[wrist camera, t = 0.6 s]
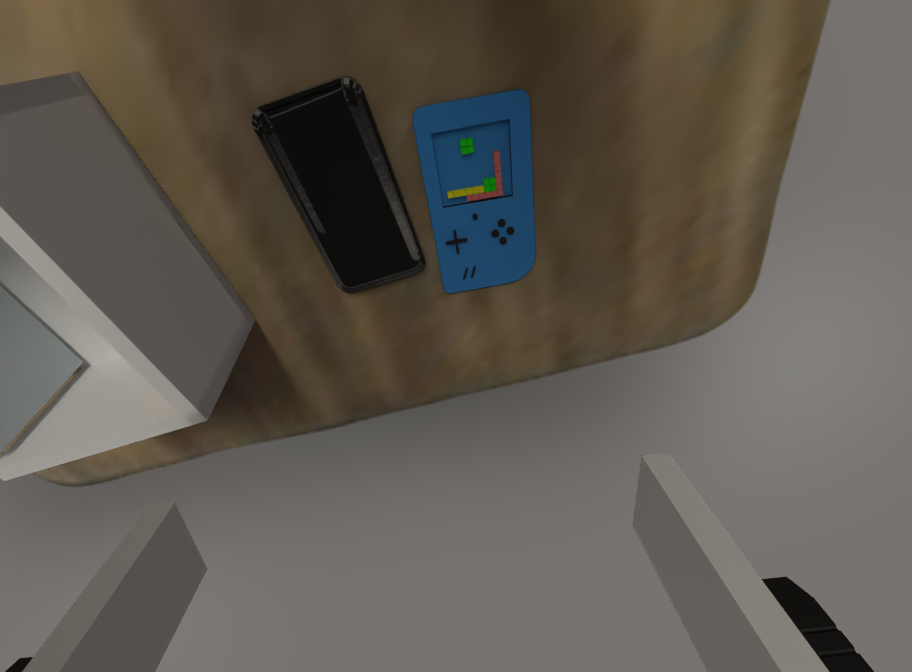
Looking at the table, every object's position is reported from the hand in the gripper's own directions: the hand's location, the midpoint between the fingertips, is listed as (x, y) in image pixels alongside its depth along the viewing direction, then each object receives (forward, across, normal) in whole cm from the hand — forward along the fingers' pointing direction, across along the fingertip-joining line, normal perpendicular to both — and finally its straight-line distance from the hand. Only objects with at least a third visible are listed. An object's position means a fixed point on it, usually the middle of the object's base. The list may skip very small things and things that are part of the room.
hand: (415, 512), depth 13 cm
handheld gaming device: (+27, +5, +4) cm, 28 cm away
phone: (+26, -5, +6) cm, 28 cm away
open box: (+26, -26, +4) cm, 37 cm away
